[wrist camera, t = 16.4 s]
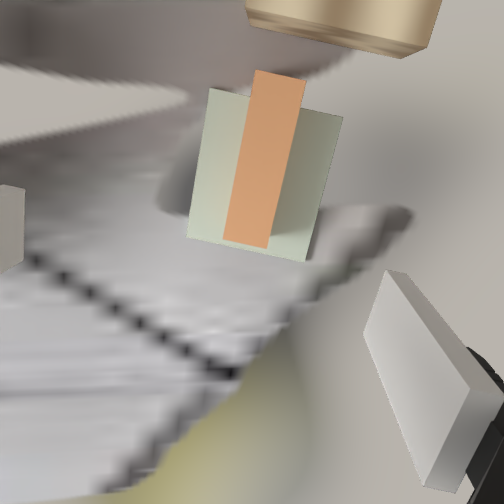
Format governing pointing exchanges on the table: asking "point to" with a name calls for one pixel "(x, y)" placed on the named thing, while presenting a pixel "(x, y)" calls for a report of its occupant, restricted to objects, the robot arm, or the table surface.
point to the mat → (293, 186)
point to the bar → (263, 157)
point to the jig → (352, 22)
